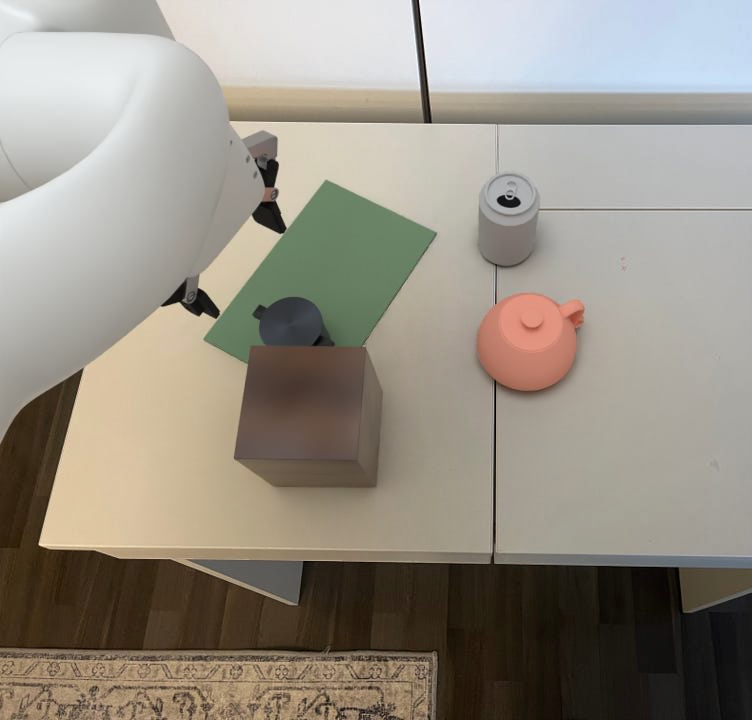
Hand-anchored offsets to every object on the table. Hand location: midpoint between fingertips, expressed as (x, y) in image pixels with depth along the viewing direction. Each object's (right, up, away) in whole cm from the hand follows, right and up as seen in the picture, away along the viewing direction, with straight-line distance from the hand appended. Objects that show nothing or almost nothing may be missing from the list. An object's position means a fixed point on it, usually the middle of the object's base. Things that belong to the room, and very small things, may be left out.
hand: (239, 266), depth 58 cm
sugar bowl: (+28, -7, +26) cm, 39 cm away
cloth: (+1, +2, +29) cm, 29 cm away
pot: (-1, -6, +25) cm, 26 cm away
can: (+25, +7, +32) cm, 41 cm away
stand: (+3, -18, +21) cm, 28 cm away
